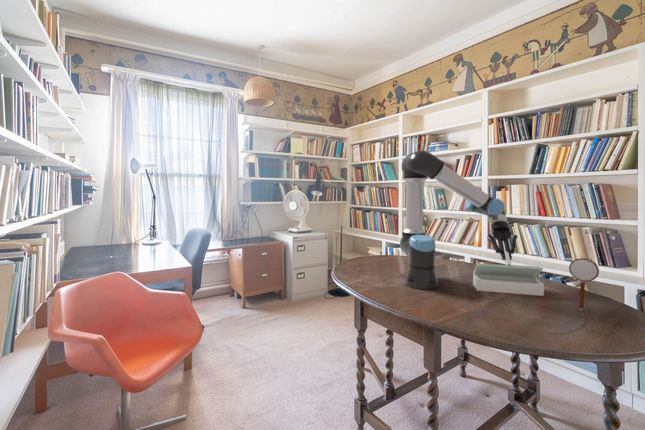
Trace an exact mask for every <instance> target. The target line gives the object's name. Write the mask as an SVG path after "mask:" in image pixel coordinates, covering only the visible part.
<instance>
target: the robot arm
mask: <svg viewBox="0 0 645 430" xmlns="http://www.w3.org/2000/svg"><path fill="white" fill-rule="evenodd" d="M401 171H402V172H403V180H404V182H405V183H406V186H405V224H404V225H405V228H403V230H402V233H401V238H400V241H399V246H400V249H401V251H402V253H403V254H404V255H405V256H408V257H409V258H408V259H409V263H408V264H409V265H408V266H409V267H408V270H407V272H406V273H407V274H406V276H405V280H404V282H405V285H406V286H407V287H410V288H412V289H420V290H432V289H437V288H438V287H439V280H438V277H437V273H436V270H435V267H436V247H437V246H436V240H435V238H434V237H432V236H431V235H426V231H425V230H424V228H423V225H424V224H423V221H424V185H425V182H426V180H427V179H428V178H429V179H430V180H436V181H437V182H439V183H441V184H442V185H443V186H445V188H448V189H450V190H451V191H452V192H454V193H455V194H457V195H459V196H460V197H461V198H463V199H465V203H464V208H465V210H466V211H469V212H471V213H472V212H473V213H476V214H479V215H484V216H488V218H489V223H490V227H491V234H490V233H489V234H488V235H487V240H488V241H489V242H490V244H491V245H492V247H493V249H494V251H495V253H496V254H499V255H500V256H501V260H503V261H504V265H512V262H511V261H512V259H513V257H512V255H514V253H515V251H516V244H517V243H516V242H517V238H518V234H515V235H514V234H512V232H511V229H510V225H509V222H508V219H507V218H508V217H507V215H506V209H505V208H506V207H505V203H504V201H503V200H501V199H500V198H494V197H493V196H491V195H490V194H488V193H486V192H485V191H484V190H482V189H480V188H478V187H477V186H476V185H474V184H473V183H471V182H470V181H469V180H467V179H465V178H464V177H462V176H461V175H460V174H458V173H457V172H455V171H454V170H453V169H451V168H449V167H448V166H446V163H445V161H443V160H442V159H440V158H439V157H437V156H436V155H434V154H433V153H431V152H429V151H427V150H416V151H414V152H410V153H409V154H407V155H406V156H404V158H403V160H402V162H401ZM509 239H511V246H510V243H509Z"/></svg>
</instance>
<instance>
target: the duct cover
mask: <svg viewBox="0 0 645 430" xmlns="http://www.w3.org/2000/svg"><path fill="white" fill-rule="evenodd" d="M543 269H544V267H540V266H534V265H533V266H532V265H516V264H511V265H506V264H494V263H477V264H476V266H475V268H474V270H473V272H472V273H473V274H480V275H495V276H511V277H527V278H536V279H537V277H538V276H539V275H540V273H541V272H542V271H543Z"/></svg>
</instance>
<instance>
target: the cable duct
mask: <svg viewBox="0 0 645 430" xmlns="http://www.w3.org/2000/svg"><path fill="white" fill-rule="evenodd" d="M472 285H473V286H474V288H475V290H476V291H477V292H487V293H488V292H489V293H490V292H491V293H502V294H505V293H506V294H515V295H516V294H517V295H526V296H527V295H528V296H540V297H541V296H544V295H545V283H543V282H542V281H540V280H539V279H538V278H537V277H536V278H529V277H513V276H497V275H481V274H473V277H472Z"/></svg>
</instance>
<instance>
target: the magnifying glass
mask: <svg viewBox="0 0 645 430" xmlns="http://www.w3.org/2000/svg"><path fill="white" fill-rule="evenodd" d="M568 269H569V270H568V271H569V272H570V274H571V276H572V277H573V278H574V279H576V280H578V281H580V287H579V289H580V290H579V306H578V307H579V311H583V309H584V306H585V305H584V303H585V290H586V289H585V286H586V283H585V282H591V281H594V280H596V279H597V278H598V277H599V273H600V269H599V266H598V265H597V264H596V262H594V261H593V260H590V259H588V258H584V257H581V258H575V259H573V261H571V262H570V264H569V268H568Z"/></svg>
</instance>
